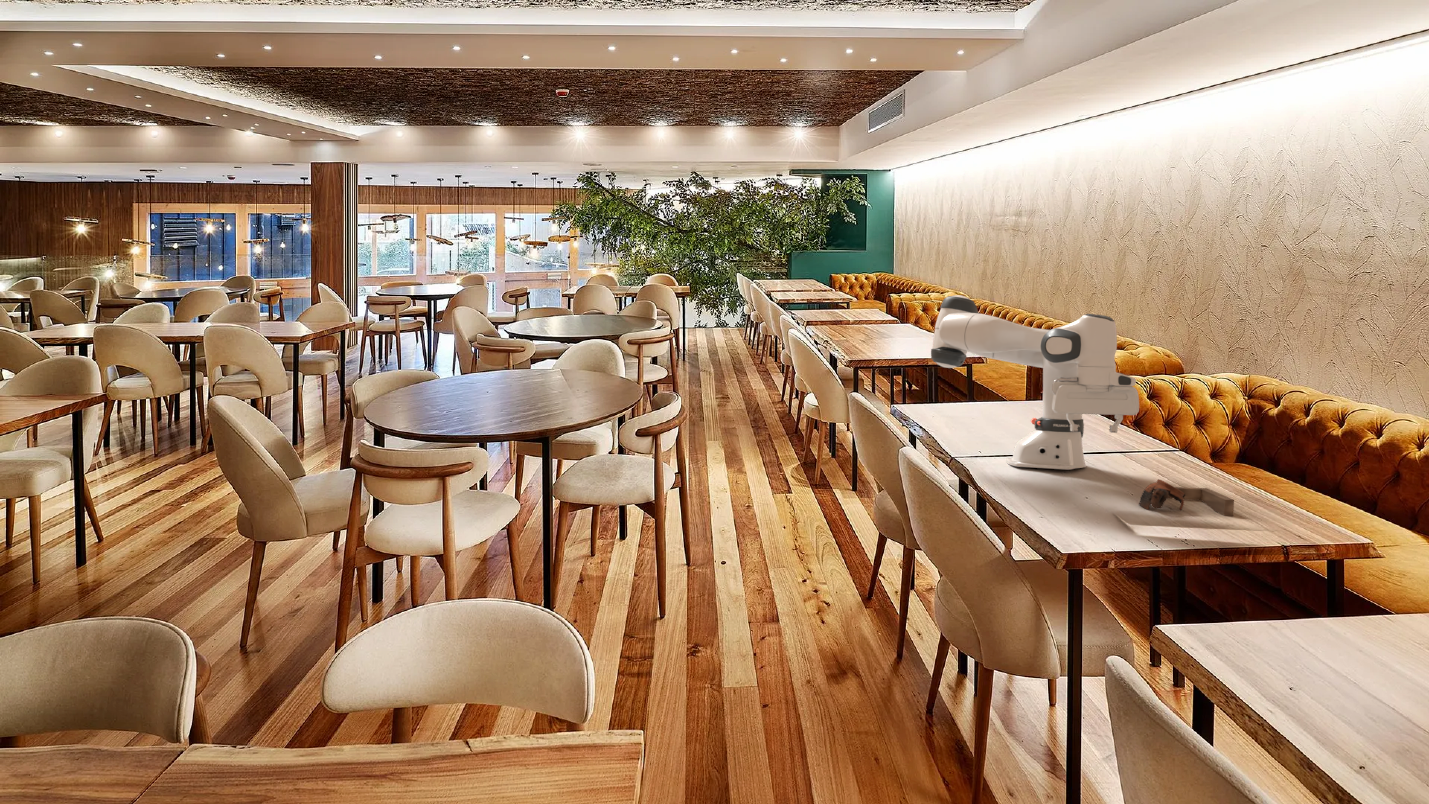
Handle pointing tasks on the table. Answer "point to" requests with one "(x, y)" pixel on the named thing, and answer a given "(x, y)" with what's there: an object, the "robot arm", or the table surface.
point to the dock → (1209, 499)
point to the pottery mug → (1160, 495)
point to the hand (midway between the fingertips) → (1093, 431)
